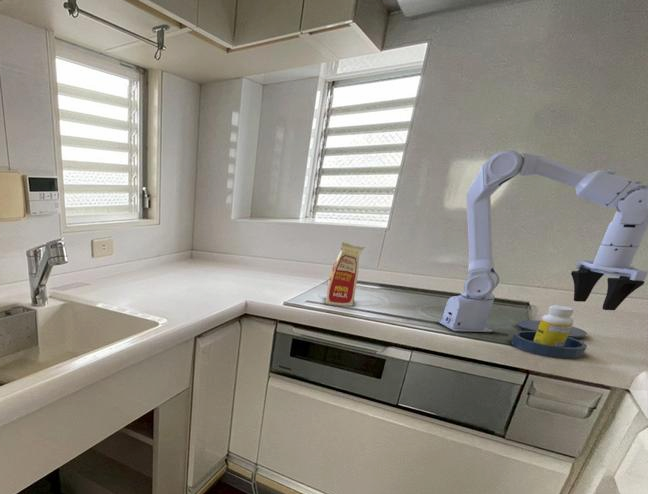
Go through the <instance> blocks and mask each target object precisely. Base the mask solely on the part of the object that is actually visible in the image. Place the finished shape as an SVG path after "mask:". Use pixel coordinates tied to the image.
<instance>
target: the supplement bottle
mask: <svg viewBox="0 0 648 494" xmlns="http://www.w3.org/2000/svg"><path fill="white" fill-rule="evenodd" d="M574 311H575V309H574V308H573V307H570V306H566V305H556V304H555V305H550V306H549V309H548V314H544V315H542V317H541V319H540V320H539V321H540V324H539V327H538V329H537V332H536V335H535V337H534V340H533V342H536V343H540V344H544V345H549V346H556V347H563V346H564V344H565V342H566V339H567V337H568V334H569V332H570V329H571V327H572V326H573V324H574V319H573V318H572V317H571V316H573V313H574Z"/></svg>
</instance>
